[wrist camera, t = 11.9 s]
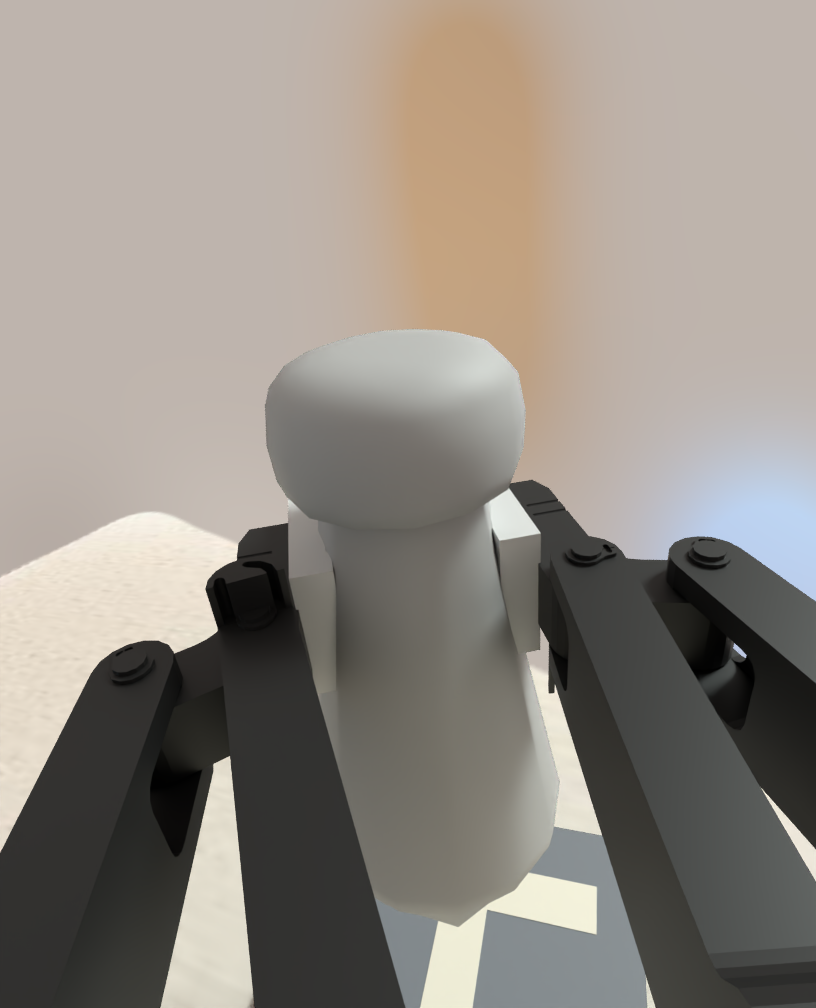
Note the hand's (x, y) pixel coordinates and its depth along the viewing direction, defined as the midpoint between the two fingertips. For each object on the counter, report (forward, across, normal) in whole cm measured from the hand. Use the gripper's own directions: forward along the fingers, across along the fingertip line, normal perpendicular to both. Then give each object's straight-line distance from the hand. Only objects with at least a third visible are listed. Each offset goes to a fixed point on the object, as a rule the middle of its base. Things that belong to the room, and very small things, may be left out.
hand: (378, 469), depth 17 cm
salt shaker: (-5, 0, -8) cm, 10 cm away
